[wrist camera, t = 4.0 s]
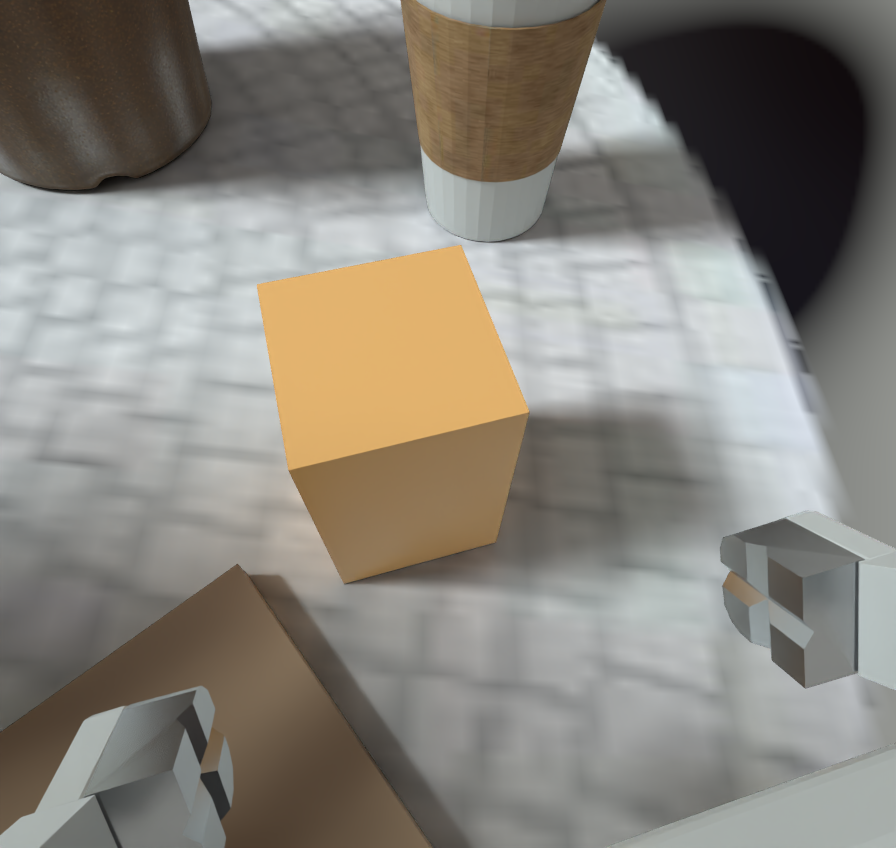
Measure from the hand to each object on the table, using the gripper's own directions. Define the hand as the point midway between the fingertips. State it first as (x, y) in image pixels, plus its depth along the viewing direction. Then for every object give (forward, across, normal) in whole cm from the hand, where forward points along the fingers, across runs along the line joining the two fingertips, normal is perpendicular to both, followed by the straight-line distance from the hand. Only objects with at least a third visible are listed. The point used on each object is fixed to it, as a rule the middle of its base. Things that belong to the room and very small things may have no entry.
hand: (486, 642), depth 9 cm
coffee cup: (+24, -8, -8) cm, 26 cm away
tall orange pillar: (+13, 0, +2) cm, 13 cm away
